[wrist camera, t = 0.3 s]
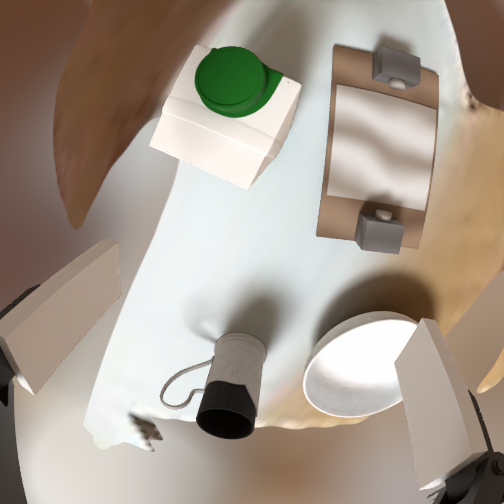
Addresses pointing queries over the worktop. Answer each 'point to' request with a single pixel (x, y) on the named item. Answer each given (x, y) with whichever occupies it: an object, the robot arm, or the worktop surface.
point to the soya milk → (227, 114)
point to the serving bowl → (358, 365)
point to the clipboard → (379, 149)
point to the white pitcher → (229, 387)
